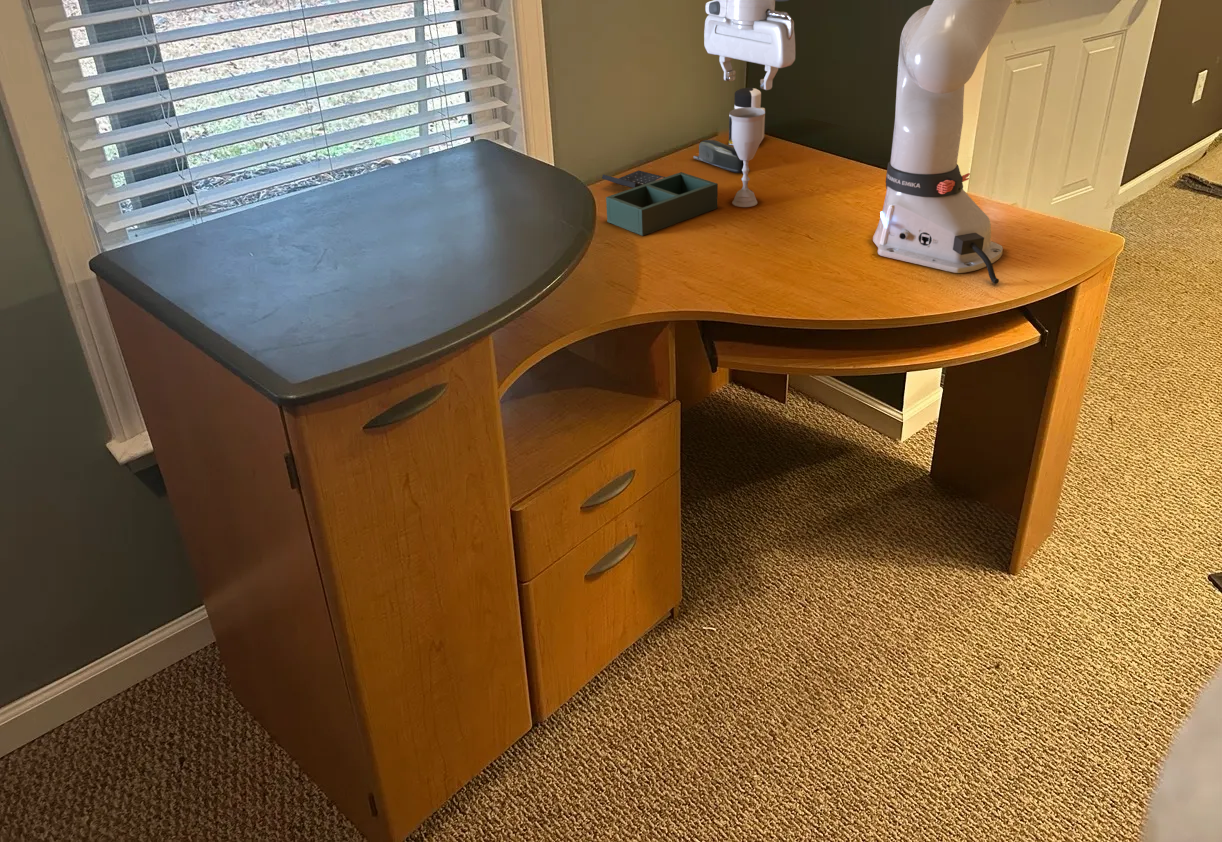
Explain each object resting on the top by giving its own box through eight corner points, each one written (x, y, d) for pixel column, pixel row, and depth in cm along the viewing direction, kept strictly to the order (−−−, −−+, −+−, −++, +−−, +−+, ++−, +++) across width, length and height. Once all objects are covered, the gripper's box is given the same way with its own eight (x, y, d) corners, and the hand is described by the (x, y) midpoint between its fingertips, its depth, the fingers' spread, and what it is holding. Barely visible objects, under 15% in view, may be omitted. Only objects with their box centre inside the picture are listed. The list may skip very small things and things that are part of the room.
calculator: (671, 182, 211) (671, 168, 209) (634, 197, 204) (634, 183, 202) (638, 174, 216) (638, 160, 215) (602, 188, 210) (601, 175, 208)
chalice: (752, 211, 194) (755, 119, 185) (721, 206, 197) (722, 115, 188) (767, 199, 199) (771, 109, 190) (737, 194, 203) (739, 105, 193)
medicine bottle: (728, 145, 231) (729, 93, 224) (734, 136, 237) (735, 85, 230) (758, 146, 229) (760, 94, 222) (764, 137, 234) (766, 86, 228)
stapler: (750, 150, 212) (700, 134, 221) (740, 153, 210) (691, 137, 220) (748, 172, 214) (700, 156, 224) (739, 176, 213) (690, 159, 223)
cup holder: (717, 208, 196) (717, 183, 194) (642, 236, 186) (641, 210, 183) (681, 196, 203) (681, 171, 201) (607, 222, 193) (605, 197, 190)
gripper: (805, 10, 173) (800, 90, 181) (723, -2, 187) (721, 73, 194) (781, 16, 170) (777, 97, 177) (699, 2, 184) (698, 79, 191)
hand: (747, 84), depth 186 cm, fingers open, 8 cm apart
